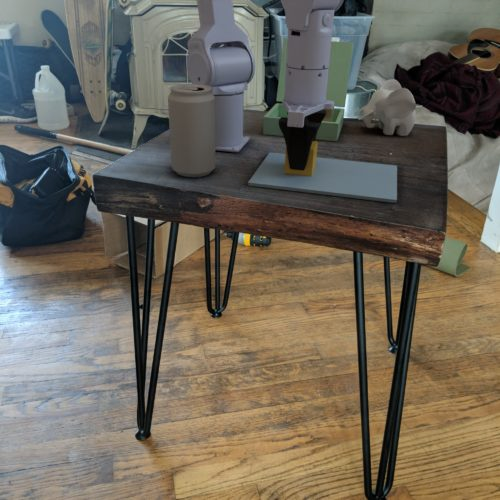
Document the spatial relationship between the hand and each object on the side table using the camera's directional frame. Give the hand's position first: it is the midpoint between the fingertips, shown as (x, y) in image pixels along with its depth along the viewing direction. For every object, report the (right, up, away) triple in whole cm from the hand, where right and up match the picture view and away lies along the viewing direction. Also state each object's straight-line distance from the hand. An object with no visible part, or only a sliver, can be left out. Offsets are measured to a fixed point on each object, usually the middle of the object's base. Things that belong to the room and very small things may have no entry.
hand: (299, 164), depth 75 cm
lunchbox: (+3, +10, +22) cm, 24 cm away
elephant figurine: (+18, +10, +22) cm, 31 cm away
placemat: (+4, -2, 0) cm, 4 cm away
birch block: (+6, +10, +21) cm, 24 cm away
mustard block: (0, -1, 0) cm, 1 cm away
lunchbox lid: (+5, +22, +24) cm, 33 cm away
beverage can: (-16, -1, 0) cm, 16 cm away
